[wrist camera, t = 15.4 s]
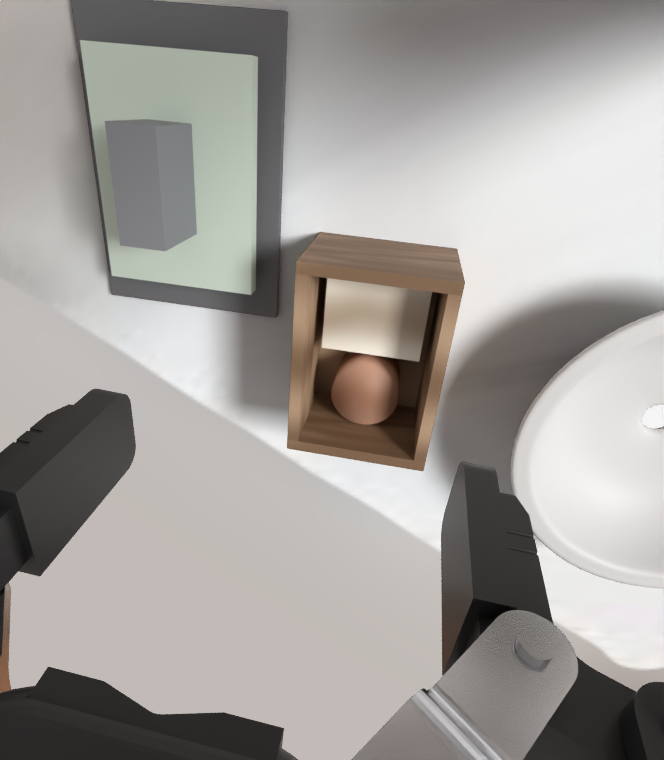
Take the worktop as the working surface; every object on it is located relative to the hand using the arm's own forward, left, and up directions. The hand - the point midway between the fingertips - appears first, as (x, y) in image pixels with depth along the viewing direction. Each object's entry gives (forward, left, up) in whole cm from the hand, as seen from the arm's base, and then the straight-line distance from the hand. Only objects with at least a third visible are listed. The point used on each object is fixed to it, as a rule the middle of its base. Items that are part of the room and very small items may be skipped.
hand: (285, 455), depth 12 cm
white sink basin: (+12, +24, -28) cm, 39 cm away
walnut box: (+8, +1, -28) cm, 29 cm away
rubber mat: (-2, -14, -28) cm, 31 cm away
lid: (-2, -14, -26) cm, 30 cm away
